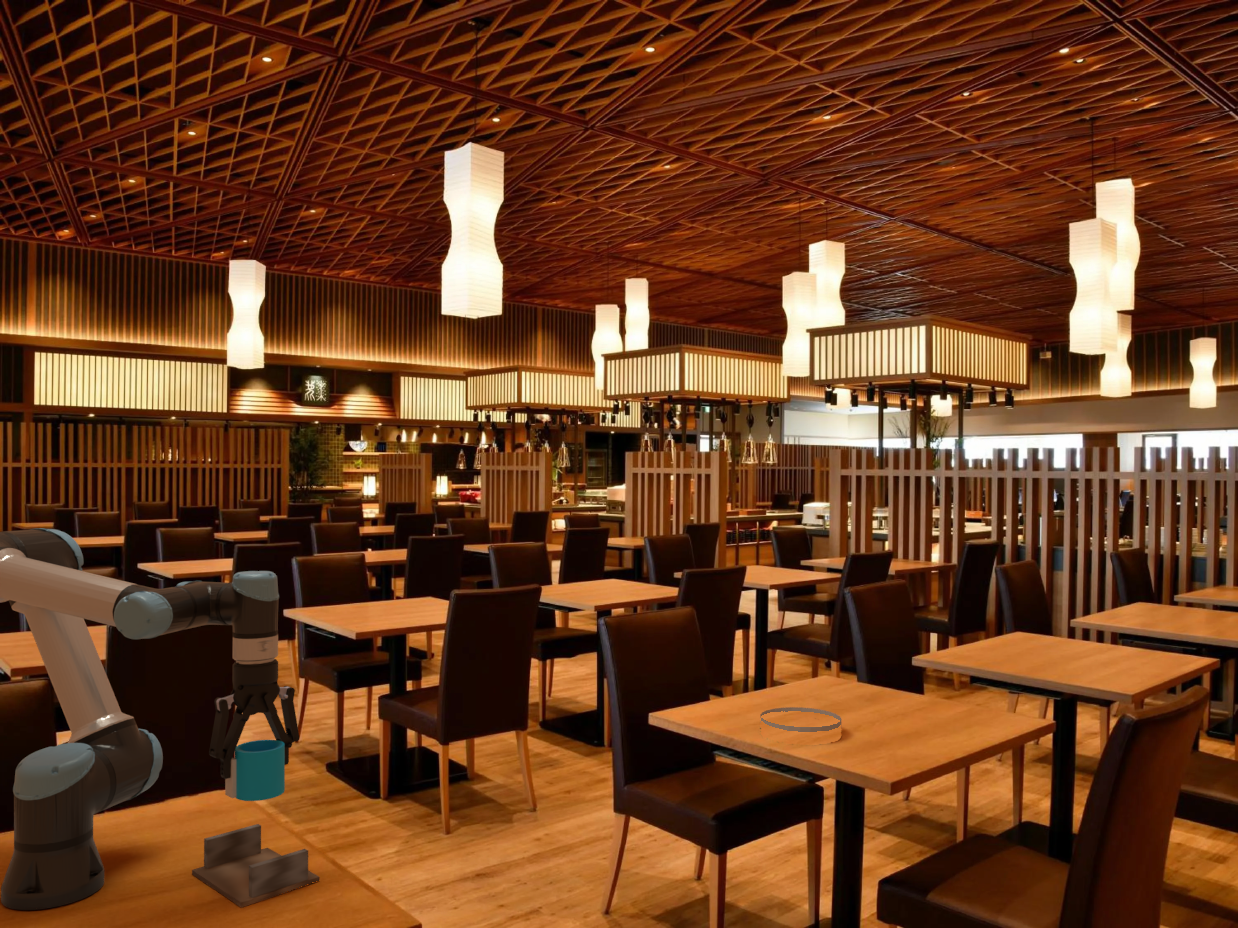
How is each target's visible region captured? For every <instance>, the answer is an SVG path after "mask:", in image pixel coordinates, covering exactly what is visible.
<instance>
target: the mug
mask: <svg viewBox="0 0 1238 928" xmlns="http://www.w3.org/2000/svg"><path fill="white" fill-rule="evenodd" d="M234 758H235V759H236V798H235V799H237V800H238V801H243V802H258V801H266V800H271V799H274V798H277V797H279V796H281V795H283V794H284V793H285V789H286V788H285V787H286V786H285V785H286V783H285V781H286V780H285V777H286V776H285V775H286V774H285V771H286V769H285V766H286V765H285V743H284V742H282V741H279V740H276V739H258V740H250V741H247V742H243V743H240V744H237V746H236V749H235V751H234Z"/></svg>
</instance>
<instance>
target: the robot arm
mask: <svg viewBox="0 0 1238 928" xmlns="http://www.w3.org/2000/svg"><path fill="white" fill-rule="evenodd" d="M83 565H84V555H83V553H82V549H81V548H80V545H79V544H78V542H77V541H76V540H75V539H74V538H73V537H72V536H71V535H69V534H68V533H66V532H65V531H61V530H60V529H55V528H45V527H44V528H41V527H40V528H37V527H35V528H31V529H20V530H19V529H18V530H5V531H0V603H6V602H9V605H10V607H11V610H12V611H15V612H17V613H19V614H23V616H24V617H25V619H26V622H27V624H28V626H29V630H30V631H31V634H32V637H33V639H34V642H35V644H36V647H37V649H38V652H39V655H40V656H41V660H42V661H43V664H44V667H45V670H46V672H47V674H48V678H49V679H50V683H51V685H52V687H53V690H54V693H55V695H56V697H57V700H58V702H59V704H60V707H61V709H62V712H63V715H64V717H65V720H66V723H67V725H68V727H69V730H70V732H71V733H70V734H71V735H70V738H69V739H68V741H67V743H61V744H58V745H55V746H48V747H45V748H42V749H39V750H36V751H34V752H32V753H30V754H28V755H27V756H26V757H24V758H22V760H21V761H20V762H19V763H18V764H17V766H16V768H15V773H14V774H15V775H14V783H13V787H12V792H13V853H12V856H11V859H10V862H9V865H8V868H7V870H6V872H5V875H4V877H3V878H4V879H3V881H2V884H1V888H0V890H1V892H0V895H1V896H0V902H1V904H2V905H3V906H4V907H6V908H9V909H12V910H17V911H18V910H19V911H36V910H46V909H52V908H57V907H61V906H66V905H70V904H72V903H75V902H78V901H81V900H83V899H85V898H88V897H90V896H92V895H93V894H95V893H97V892H98V891H99V890H101V888H102V887H103V886H104V885H105V867H104V864H103V860H102V858H101V856H100V853H99V851H98V850H99V849H98V848H97V845H96V842H95V840H94V815H96V814H97V813H100V812H102V811H104V810H107V809H110V808H111V807H113V806H116V805H118V804H121V803H123V802H126V801H130V800H132V799H134V798H137V796H139V795H141V794H143V793H144V792H145V791H147V790H149V789H150V788H151V787H152V786H153V785H154V784H155V783H156V781H157V780H158V778H159V776H160V772H161V770H162V769H163V763H164V762H163V760H164V756H163V755H164V754H163V748H162V746H161V743H160V741H159V740H158V738H157V736H156V735H155V734H154V733H152V732H149V730H147V729H143V728H139V727H138V725H137V721H136V719H135V717H134V716H133V715H130V714H126V713H125V712H122V710H121V708H120V706H119V702H118V700H117V697H116V696H115V695H116V694H115V692H114V690H113V687H112V685H111V683H110V680H109V678H108V675H107V672H106V669H105V668H104V665H103V664H102V660H101V658H100V655H99V653H98V650H97V648H96V646H95V643H94V641H93V639H92V636H91V634H90V631H89V627H88V625H87V624H86V621H87V620H88V621H92V622H96V623H100V624H103V625H109V626H112V627H114V628H115V627H116V629H117V630H118V632H120V633H121V634H122V636H123V637H125V638H127V639H131V640H141V639H142V640H143V639H144V640H147V639H154V638H157V637H159V636H163V635H167V634H171V633H175V632H179V631H180V632H181V631H184V630H185V631H186V630H188V629H189V630H190V629H192V628H197V627H198V628H199V627H201V626H209V625H210V626H211V625H212V626H213V625H214V626H216V625H217V626H219V625H220V626H232V660H234V662H233V664H232V690H231V692H230V695H227V696H224V697H216V698H215V699H214V701H213V702H214V707H215V716H214V722H213V726H212V734H211V739H210V745H209V749H208V750H209V751H208V755H209V756H210V757H212V758H215V759H218V760H220V766H219V767H220V770H219V771H220V773H219V775H220V777H221V778H223V779H224V782H225V783H224V785H225V786H224V787H225V788H224V789H225V791H224V792H225V793H224V794H225V796H227V797H228V798H231V799H234V798H235V799H236V759H235V757H233V756H234V755H235V749H236V746H238V745H239V744H238V743H239V741H240V738H241V736H242V734H243V731H244V729H245V726H246V723H247V722H248V721H249V719H250V717H251V716H253V715H256V714H259V713H260V714H263V715H264V717H265V719H266V720H267V723H268V725H269V727H270V730H271V732H272V734H273V737H274V738H275V739H274V740H279V741H282V742H284V743H285V766H286V765H289V762H290V753H289V752H290V748H292V747H293V743H296V742H299V740H300V733H299V727H298V720H297V715H296V709H295V703H294V697H295V691H296V690H295V688H294V687H291V686H288V685H284V686H279V684H278V683H279V682H278V679H279V661H278V659H276V658H277V657H278V656H279V629H278V626H279V624H278V622H279V599H280V593H279V586H278V584H279V583H278V575H276V574H277V573H274V571H270V570H259V571H258V570H248V571H245V570H244V571H238V572H236V573H235V574H233V576H232V581H231V582H219V581H217V582H216V581H202V580H193V581H182V582H179V583H177V584H176V586H171V587H165V588H154V587H149V586H145V585H141V584H137V583H133V582H129V581H125V580H121V579H117V578H113V577H109V576H103V575H100V574H95V573H91V572H88V571H84V570H83V568H82V566H83ZM85 620H86V621H85ZM277 697H278V698H279V699H280V705H281V710H282V717H283V723H284V726H283V723H282V721H281V718H280V717H279V714H278V710H277V707H276V705H275V701H276V699H277ZM232 704H234V705H235V706H236V707H235V710H234V713H233V719H232V720H231V723H230V726H229V728H228V721H229V715H230V709H231V708H232ZM227 729H228V731H227Z"/></svg>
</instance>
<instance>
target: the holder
mask: <svg viewBox="0 0 1238 928" xmlns="http://www.w3.org/2000/svg"><path fill="white" fill-rule="evenodd" d="M203 848H204V849H203V866H200V867H196V868H193V869H191V875H192V876H194V877H195V878H197V879H198V880H200V881H201V882H203V883H204V884H205V885H207V886H208V887H210V888H212V889H213V890H215V892H218V894H220V895H222V896H224V897H225V898H226V899H228V900H230V901H231V902H232V903H234V904H235V905H236V906H238V907H240V908H244V907H246V906H249V905H253V904H256V903H259V902H262V901H265V900H268V899H271V898H273V897H277V896H280V895H283V894H286V893H288V892H287V891H289V892H292V891H294V890H293V889H295V890H297V889H296V888H298V889H300V888H299V887H301V886H304V887H306V886H305V885H307V884H310V883H312V882H316V881H319V880H321V879H320V876H319V875H317V874H315V873H313V872H312V871H311V870H309V850H308V849H306V848H302V849H299V850H296V851H293V852H289V853H286V854H283V855H282V854H280V853H278V852H276V851H274V850H273V849H271V848H269V847H264V848H262V825H261V824H259V823H256V824H253V825H248V826H246V827H241V828H238V829H234V830H230V831H228V832H223V833H220V834H216V835H213V836H209V837H205V838H204V839H203ZM319 882H320V881H319ZM316 883H317V882H316ZM310 885H311V884H310ZM307 886H308V885H307ZM301 888H302V887H301ZM291 890H292V891H291ZM285 892H286V893H285ZM282 893H283V894H282ZM279 894H280V895H279ZM276 895H277V896H276Z"/></svg>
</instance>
